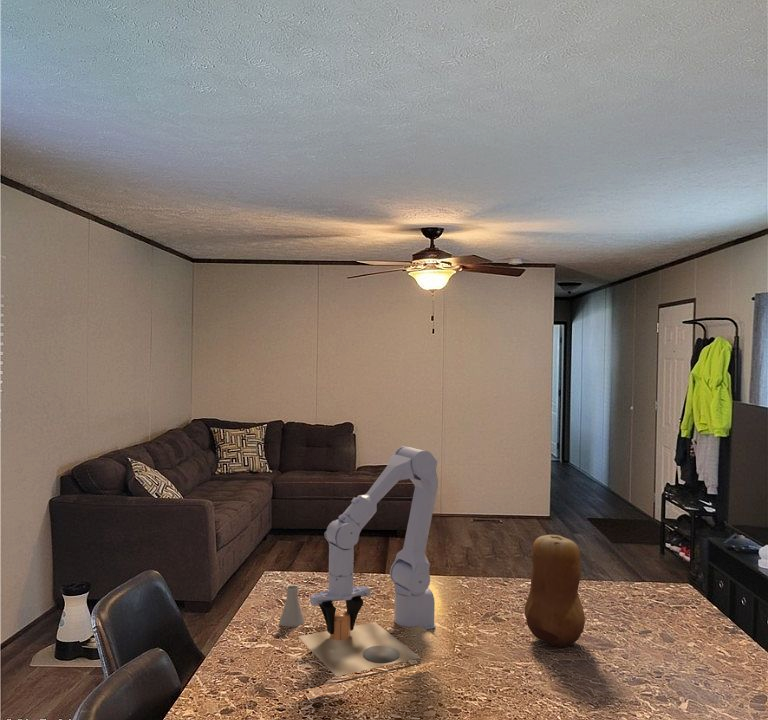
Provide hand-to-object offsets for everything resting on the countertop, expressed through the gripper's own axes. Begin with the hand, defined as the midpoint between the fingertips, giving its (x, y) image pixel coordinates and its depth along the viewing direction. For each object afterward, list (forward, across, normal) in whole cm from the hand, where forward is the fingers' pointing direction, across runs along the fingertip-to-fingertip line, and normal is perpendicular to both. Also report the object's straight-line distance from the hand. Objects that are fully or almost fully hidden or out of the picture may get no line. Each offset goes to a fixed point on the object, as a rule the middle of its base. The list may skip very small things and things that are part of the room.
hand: (340, 630), depth 166 cm
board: (+3, +1, -7) cm, 8 cm away
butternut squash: (+3, +45, -22) cm, 50 cm away
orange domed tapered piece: (+1, 0, 0) cm, 1 cm away
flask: (+3, -7, +13) cm, 15 cm away
